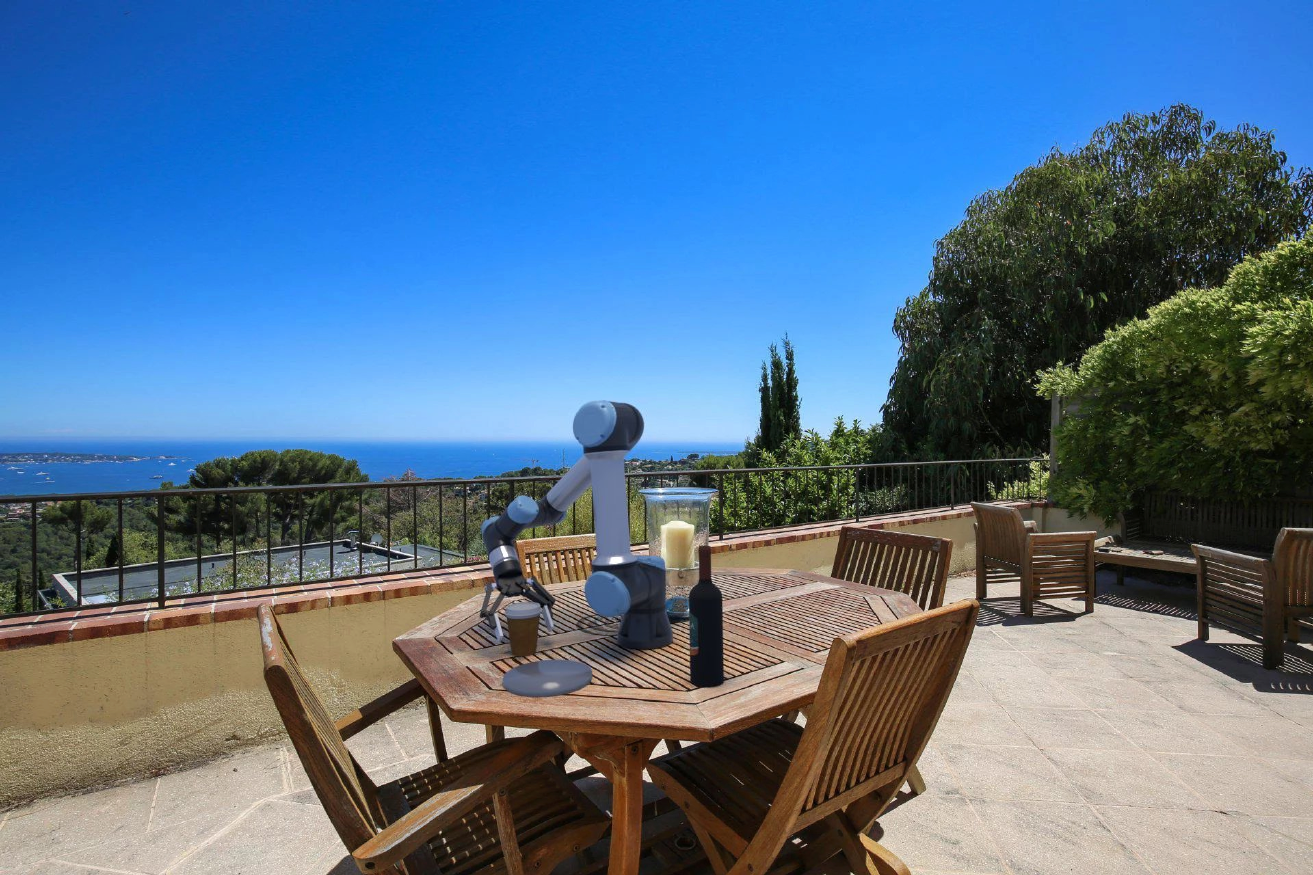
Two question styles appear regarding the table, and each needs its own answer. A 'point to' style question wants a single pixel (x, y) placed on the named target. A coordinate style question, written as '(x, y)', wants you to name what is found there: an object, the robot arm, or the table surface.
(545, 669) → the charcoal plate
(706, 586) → the wine bottle
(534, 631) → the disposable coffee cup
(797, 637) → the table surface
